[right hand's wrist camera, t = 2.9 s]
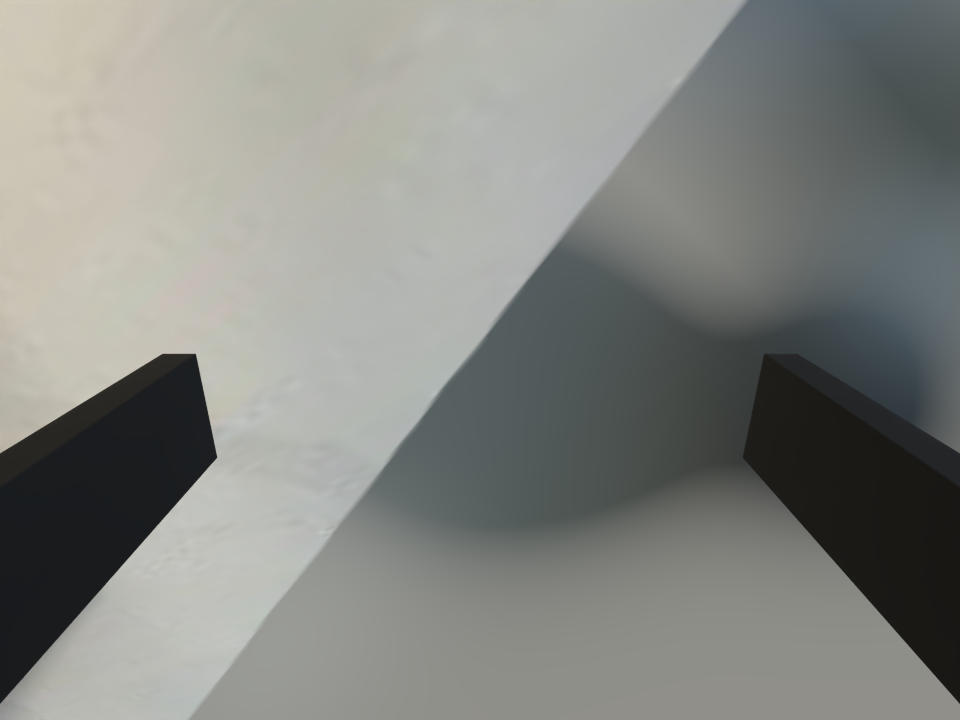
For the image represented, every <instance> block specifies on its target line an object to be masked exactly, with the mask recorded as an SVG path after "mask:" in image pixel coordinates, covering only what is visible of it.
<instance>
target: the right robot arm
mask: <svg viewBox="0 0 960 720" xmlns="http://www.w3.org/2000/svg"><path fill="white" fill-rule="evenodd" d="M216 458H217V454H216V449H215V444H214V440H213V435H212V430H211V425H210V420H209V415H208V411H207V406H206V401H205V396H204V391H203V386H202V382H201V377H200V372H199V367H198V362H197V357H196V354H162V355H160V356H158V357H157V358H155V359H154V360H152V361H150V362H149V363H147V364H145V365H144V366H142V367H140V368H139V369H137V370H136V371H134V372H132V373H131V374H129V375H127V376H126V377H124V378H123V379H121V380H119V381H118V382H116V383H114V384H113V385H111V386H110V387H108V388H106V389H105V390H103V391H101V392H100V393H98V394H96V395H95V396H93V397H92V398H90V399H88V400H87V401H85V402H83V403H82V404H80V405H79V406H77V407H75V408H74V409H72V410H70V411H69V412H67V413H65V414H64V415H62V416H61V417H59V418H57V419H56V420H54V421H52V422H51V423H49V424H48V425H46V426H44V427H43V428H41V429H39V430H38V431H36V432H34V433H33V434H31V435H30V436H28V437H26V438H25V439H23V440H21V441H20V442H18V443H17V444H15V445H13V446H12V447H10V448H8V449H7V450H5V451H4V452H2V453H0V703H1V702H2V701H3V700H4V699H5V698H6V697H7V695H8V694H9V693H10V692H11V691H12V690H13V689H14V687H15V686H16V685H17V684H18V683H19V682H20V681H21V680H22V678H23V677H24V676H25V675H26V674H27V673H28V672H29V670H30V669H31V668H32V667H33V666H34V665H35V664H36V663H37V661H38V660H39V659H40V658H41V657H42V656H43V655H44V653H45V652H46V651H47V650H48V649H49V648H50V647H51V645H52V644H53V643H54V642H55V641H56V640H57V639H58V638H59V636H60V635H61V634H62V633H63V632H64V631H65V630H66V628H67V627H68V626H69V625H70V624H71V623H72V622H73V621H74V619H75V618H76V617H77V616H78V615H79V614H80V613H81V611H82V610H83V609H84V608H85V607H86V606H87V605H88V604H89V602H90V601H91V600H92V599H93V598H94V597H95V596H96V594H97V593H98V592H99V591H100V590H101V589H102V588H103V586H104V585H105V584H106V583H107V582H108V581H109V580H110V579H111V577H112V576H113V575H114V574H115V573H116V572H117V571H118V569H119V568H120V567H121V566H122V565H123V564H124V563H125V562H126V560H127V559H128V558H129V557H130V556H131V555H132V554H133V552H134V551H135V550H136V549H137V548H138V547H139V546H140V545H141V543H142V542H143V541H144V540H145V539H146V538H147V537H148V535H149V534H150V533H151V532H152V531H153V530H154V529H155V527H156V526H157V525H158V524H159V523H160V522H161V521H162V520H163V518H164V517H165V516H166V515H167V514H168V513H169V512H170V510H171V509H172V508H173V507H174V506H175V505H176V504H177V503H178V501H179V500H180V499H181V498H182V497H183V496H184V495H185V493H186V492H187V491H188V490H189V489H190V488H191V487H192V486H193V484H194V483H195V482H196V481H197V480H198V479H199V478H200V476H201V475H202V474H203V473H204V472H205V471H206V470H207V468H208V467H209V466H210V465H211V464H212V463H213V462H214V461H215V459H216ZM743 458H744V459H745V461H746V462H747V463H748V464H749V465H750V466H751V467H752V468H753V470H754V471H755V472H756V473H757V474H758V475H759V476H760V478H761V479H762V480H763V481H764V482H765V483H766V484H767V485H768V487H769V488H770V489H771V490H772V491H773V492H774V493H775V495H776V496H777V497H778V498H779V499H780V500H781V501H782V502H783V504H784V505H785V506H786V507H787V508H788V509H789V510H790V512H791V513H792V514H793V515H794V516H795V517H796V518H797V520H798V521H799V522H800V523H801V524H802V525H803V526H804V527H805V529H806V530H807V531H808V532H809V533H810V534H811V535H812V537H813V538H814V539H815V540H816V541H817V542H818V543H819V544H820V546H821V547H822V548H823V549H824V550H825V551H826V552H827V554H828V555H829V556H830V557H831V558H832V559H833V560H834V561H835V563H836V564H837V565H838V566H839V567H840V568H841V569H842V571H843V572H844V573H845V574H846V575H847V576H848V577H849V579H850V580H851V581H852V582H853V583H854V584H855V585H856V586H857V588H858V589H859V590H860V591H861V592H862V593H863V594H864V596H865V597H866V598H867V599H868V600H869V601H870V602H871V603H872V605H873V606H874V607H875V608H876V609H877V610H878V611H879V613H880V614H881V615H882V616H883V617H884V618H885V619H886V621H887V622H888V623H889V624H890V625H891V626H892V627H893V628H894V630H895V631H896V632H897V633H898V634H899V635H900V636H901V638H902V639H903V640H904V641H905V642H906V643H907V644H908V645H909V647H910V648H911V649H912V650H913V651H914V652H915V653H916V655H917V656H918V657H919V658H920V659H921V660H922V661H923V662H924V664H925V665H926V666H927V667H928V668H929V669H930V670H931V672H932V673H933V674H934V675H935V676H936V677H937V678H938V680H939V681H940V682H941V683H942V684H943V685H944V686H945V687H946V689H947V690H948V691H949V692H950V693H951V694H952V695H953V696H954V698H955V699H956V700H957V701H958V702H959V703H960V453H958V452H956V451H955V450H953V449H952V448H950V447H948V446H947V445H945V444H943V443H942V442H940V441H938V440H937V439H935V438H934V437H932V436H930V435H929V434H927V433H925V432H924V431H922V430H921V429H919V428H917V427H916V426H914V425H912V424H911V423H909V422H908V421H906V420H904V419H903V418H901V417H899V416H898V415H896V414H895V413H893V412H891V411H890V410H888V409H886V408H885V407H883V406H881V405H880V404H878V403H877V402H875V401H873V400H872V399H870V398H868V397H867V396H865V395H864V394H862V393H860V392H859V391H857V390H855V389H854V388H852V387H850V386H849V385H847V384H846V383H844V382H842V381H841V380H839V379H837V378H836V377H834V376H832V375H831V374H829V373H828V372H826V371H824V370H823V369H821V368H820V367H818V366H816V365H815V364H813V363H811V362H810V361H808V360H806V359H805V358H803V357H802V356H800V355H798V354H764V357H763V362H762V367H761V372H760V377H759V382H758V386H757V391H756V396H755V401H754V406H753V411H752V416H751V420H750V425H749V430H748V435H747V440H746V444H745V449H744V454H743Z"/></svg>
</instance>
